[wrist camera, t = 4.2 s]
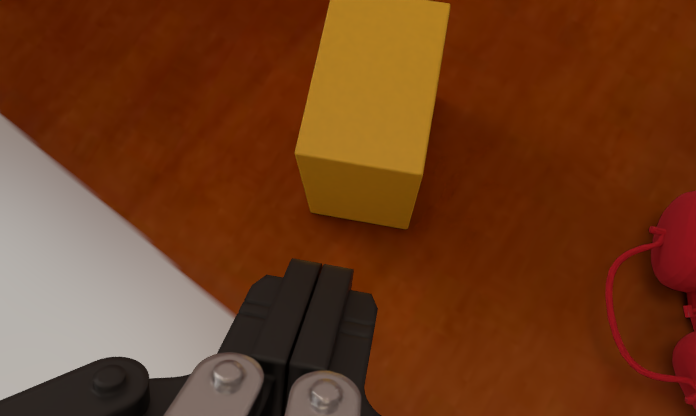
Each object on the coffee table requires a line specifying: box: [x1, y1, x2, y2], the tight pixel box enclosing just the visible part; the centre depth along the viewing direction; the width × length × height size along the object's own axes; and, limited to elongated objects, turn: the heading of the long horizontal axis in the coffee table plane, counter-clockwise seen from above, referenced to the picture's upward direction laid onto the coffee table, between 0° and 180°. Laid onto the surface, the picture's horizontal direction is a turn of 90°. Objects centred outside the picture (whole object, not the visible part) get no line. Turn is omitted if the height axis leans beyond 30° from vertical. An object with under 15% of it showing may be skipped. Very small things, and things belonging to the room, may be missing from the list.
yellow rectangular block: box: [295, 0, 451, 229], centre depth 25 cm, size 7×5×7 cm, turn 169°
